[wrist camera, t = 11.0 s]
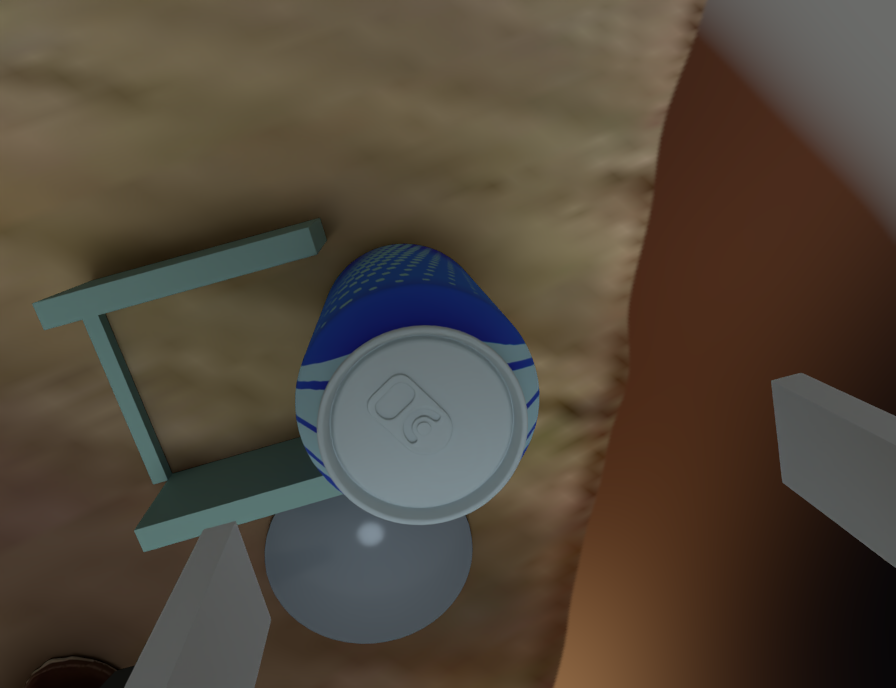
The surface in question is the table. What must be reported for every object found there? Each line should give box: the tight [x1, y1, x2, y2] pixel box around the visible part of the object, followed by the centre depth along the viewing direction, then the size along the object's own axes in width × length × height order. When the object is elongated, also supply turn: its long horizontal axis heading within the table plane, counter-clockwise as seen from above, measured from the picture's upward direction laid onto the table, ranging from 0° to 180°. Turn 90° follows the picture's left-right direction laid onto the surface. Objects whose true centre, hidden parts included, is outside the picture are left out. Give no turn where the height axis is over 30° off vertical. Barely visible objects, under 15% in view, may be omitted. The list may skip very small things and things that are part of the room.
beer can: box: [295, 244, 539, 525], centre depth 28 cm, size 8×8×16 cm
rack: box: [32, 218, 342, 552], centre depth 33 cm, size 12×13×6 cm
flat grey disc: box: [265, 494, 472, 643], centre depth 39 cm, size 12×12×1 cm
